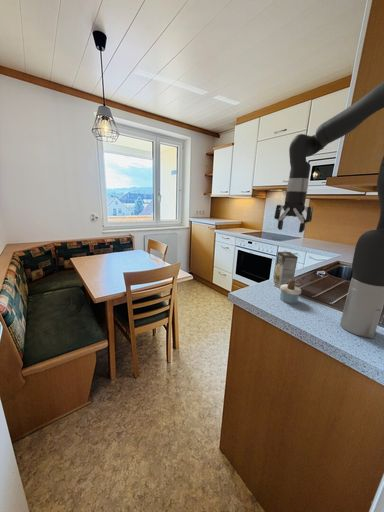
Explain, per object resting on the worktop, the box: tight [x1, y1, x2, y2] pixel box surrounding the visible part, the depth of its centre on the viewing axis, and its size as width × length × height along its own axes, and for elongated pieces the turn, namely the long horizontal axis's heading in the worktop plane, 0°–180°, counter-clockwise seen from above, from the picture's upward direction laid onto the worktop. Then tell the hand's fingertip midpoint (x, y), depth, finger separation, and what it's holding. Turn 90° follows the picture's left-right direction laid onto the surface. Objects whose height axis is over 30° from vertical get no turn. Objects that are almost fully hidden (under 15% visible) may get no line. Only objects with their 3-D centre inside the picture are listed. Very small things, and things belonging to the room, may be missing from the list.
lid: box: [279, 279, 302, 295], centre depth 88 cm, size 8×8×4 cm
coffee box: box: [273, 251, 299, 289], centre depth 103 cm, size 9×6×16 cm
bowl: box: [279, 290, 300, 305], centre depth 89 cm, size 7×7×4 cm
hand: (290, 230), depth 90 cm, fingers open, 8 cm apart
